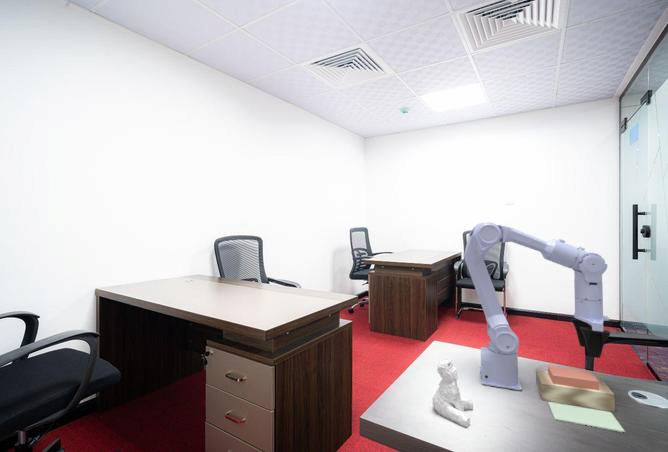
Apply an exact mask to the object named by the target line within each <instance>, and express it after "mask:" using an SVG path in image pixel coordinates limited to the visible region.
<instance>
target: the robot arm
mask: <svg viewBox="0 0 668 452" xmlns="http://www.w3.org/2000/svg"><path fill="white" fill-rule="evenodd" d="M498 243H514V244H517V245H520V246H522V247H524V248H528V249H532V250H534V251H537V252H539V253H541V255H542V257H543V259H545V260H547V261H548V262H549V261H550V262H552V263H554V264H557V265H560V266H561V267H566V268H567V269H571V270H572V271H574V272H573V273H574V276H573V277H574V280H573V282H574V287H573V288H574V313H573V317H572V318H571V317H570V320H571V323H572V324H573V326H574V329H575V331H576V336H577V340H578V343H579V347H583V348H586V351H587V355H588V356H589V358H597V359H600V358H601V356H602V353H603V348H604V346H605V343H606V341H607V339H609V337H610V336H611V332H610V331H609V329H607V330H606V329H604V322H605V321H607V322H608V321H610V317H608V316H606V315H604V295H603V294H604V293H603V292H604V290H603V289H604V288H603V274H604V273H605V272H606V271H607V269H608V263H606V261H605V259H604V258H603V257H602V255H600V254H599V253H595V252H588V251H586V248H585V247H583V246H579V247H577V246H574V245H572V244H568V243H566V240H565V239H562V238H558V239H554V238H553V239H550V240H548V241H546V240H544V239H541V238H538V237H535V236H533V235H531V234H528V233H525V232H523V231H521V230H518V229H515V228H513V227H511V226H507V225H506V226H505V225H501V224H496V223H494V222H481V223H478V224H476V225H475V226H474V227H473V229H471V231H470V232H469V234H468V238H467V242H466V245H465V249H464V252H463V253H464V254H463V258H464V260H465V265H466V267H467V269H468V272H469V275H470V278H471V281H472V283H473V286H474V288H475V291H476V294H477V297H478V299H479V303H480V305H481V307H482V310H483V313H484V316H485V320H486V323H487V324H486V325H487V327H486V328H487V329H486V333H487V334H486V335H487V336H488V338H489V339H490V341H489V343H488V345H487V346H481V347H480V366H479V375H481V377H480V379H481V384H482V385H484V386H491V387H496V388H497V387H498V388H504V389H508V390H509V389H510V390H516V391H522V390H523V388H522V384H521V380H520V378H519V365H518V364H519V361H518V360H519V359H518V357H519V356H518V353H519V351H518V348H519V346H520V340H519V337H518V336H517V334H516V333H515V332H514V331H513V330H512V329H511V327H510V324H509V322H508V320H507V318H506V316H505V315H504V311H503V308H502V306H501V303H500V300H499V298H498V294H497V292H496V289H495V287H494V284H493V282H492V278H491V276H490V272H489V271H488V268H487V265H486V262H485V260H484V259H485V257H486V256H487V254H488V252H490V250H491V248H493V247H494V246H496V245H497V244H498Z"/></svg>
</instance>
